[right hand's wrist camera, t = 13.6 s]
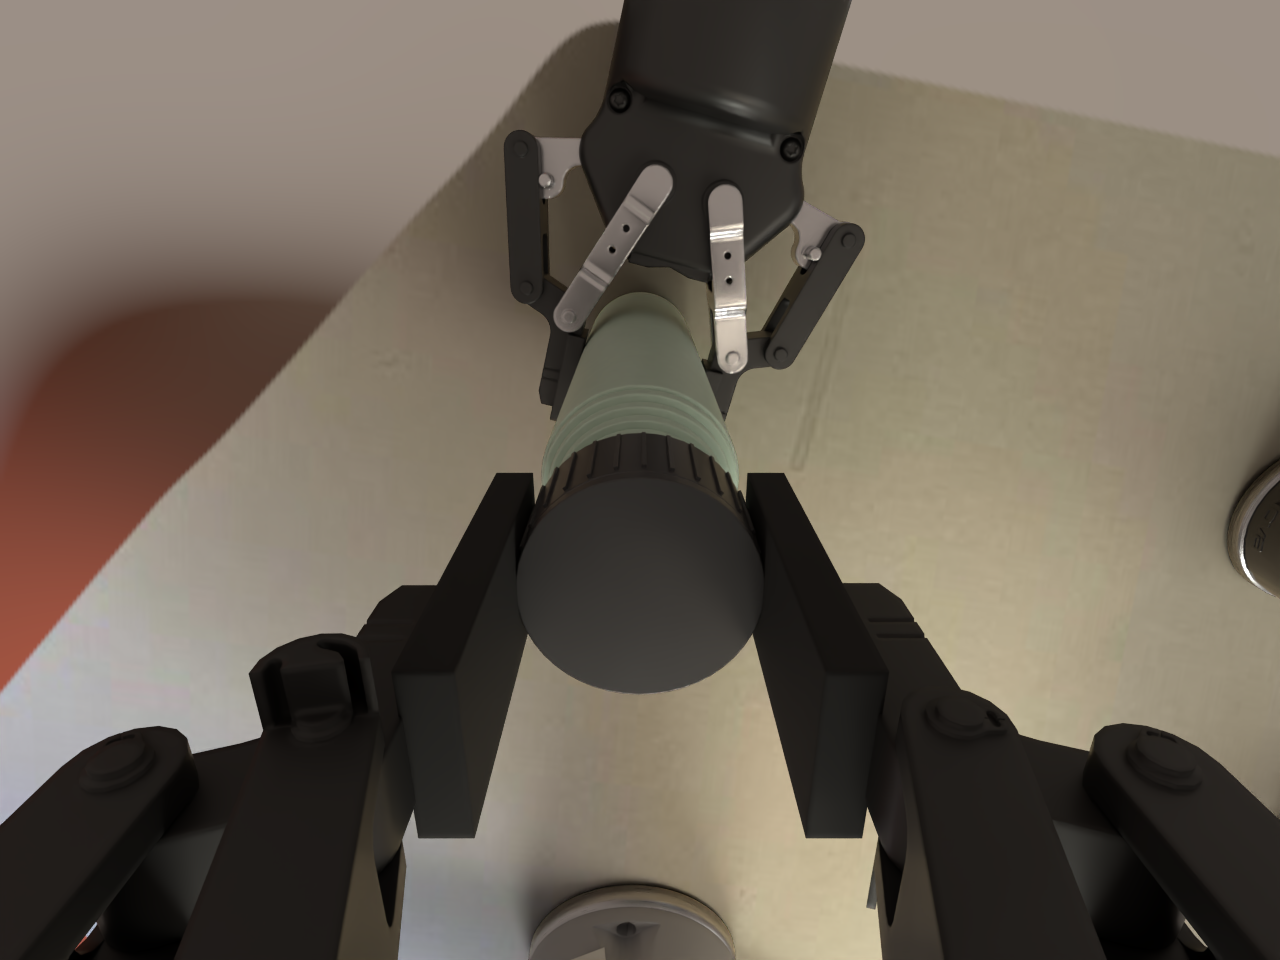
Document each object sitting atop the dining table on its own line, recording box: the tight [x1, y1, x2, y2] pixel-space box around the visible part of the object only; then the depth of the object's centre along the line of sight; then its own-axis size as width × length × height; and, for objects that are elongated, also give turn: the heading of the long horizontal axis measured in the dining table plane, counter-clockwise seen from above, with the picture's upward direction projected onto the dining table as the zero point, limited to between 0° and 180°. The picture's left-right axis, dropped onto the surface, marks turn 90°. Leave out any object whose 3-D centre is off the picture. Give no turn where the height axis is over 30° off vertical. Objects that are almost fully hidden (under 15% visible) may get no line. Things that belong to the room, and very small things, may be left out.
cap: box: [516, 432, 764, 695], centre depth 14 cm, size 5×5×2 cm
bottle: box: [541, 292, 739, 490], centre depth 24 cm, size 5×5×24 cm
